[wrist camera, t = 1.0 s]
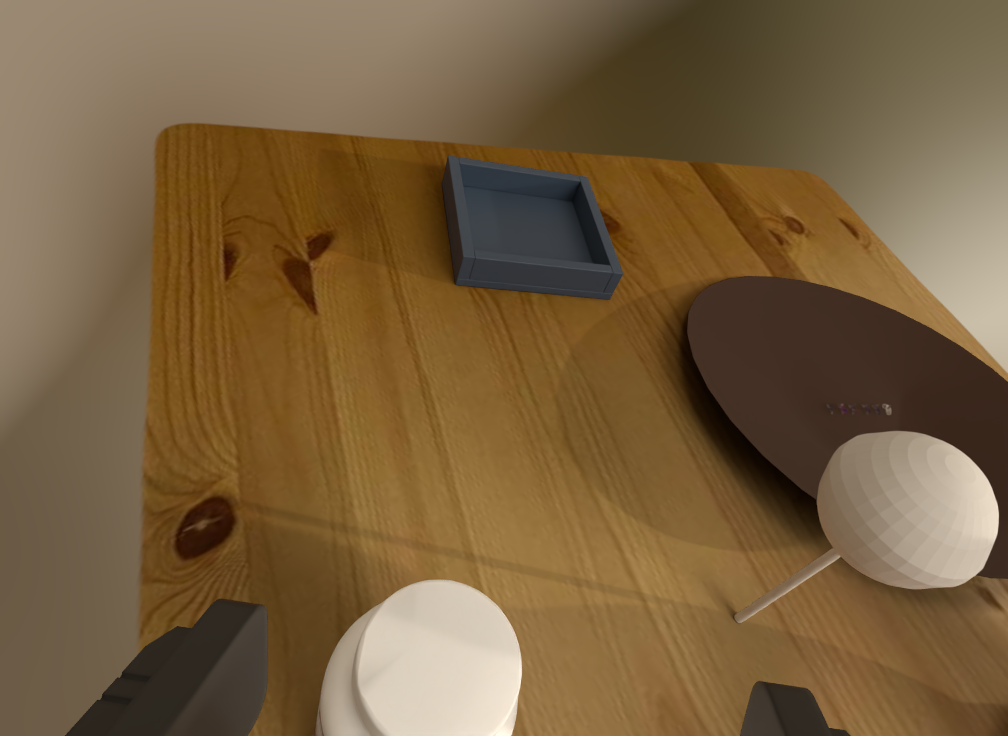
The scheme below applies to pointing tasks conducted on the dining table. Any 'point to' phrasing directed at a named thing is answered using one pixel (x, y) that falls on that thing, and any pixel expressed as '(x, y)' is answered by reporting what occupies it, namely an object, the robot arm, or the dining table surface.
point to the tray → (527, 230)
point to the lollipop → (901, 514)
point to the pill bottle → (424, 667)
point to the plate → (844, 380)
